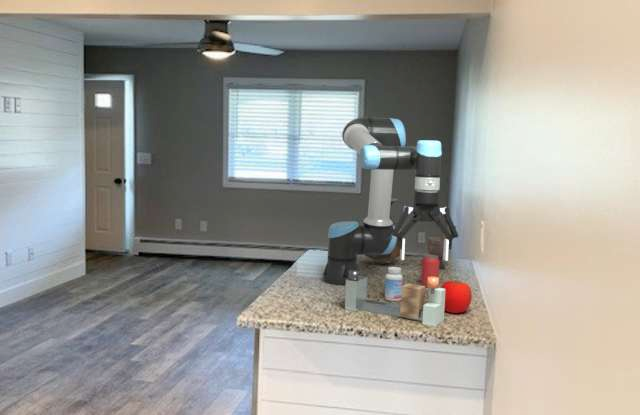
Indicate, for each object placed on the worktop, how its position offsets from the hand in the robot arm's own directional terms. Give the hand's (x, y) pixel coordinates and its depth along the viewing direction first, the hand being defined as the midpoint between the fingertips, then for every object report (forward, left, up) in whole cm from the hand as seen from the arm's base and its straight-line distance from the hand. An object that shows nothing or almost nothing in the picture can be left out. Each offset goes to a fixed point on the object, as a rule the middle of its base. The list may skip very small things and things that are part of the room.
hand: (423, 259), depth 186 cm
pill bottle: (-17, +19, -20) cm, 33 cm away
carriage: (-3, +1, -20) cm, 20 cm away
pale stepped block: (+4, +1, -20) cm, 20 cm away
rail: (-12, +1, -20) cm, 23 cm away
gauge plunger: (+4, -1, -10) cm, 11 cm away
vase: (-45, +73, -20) cm, 89 cm away
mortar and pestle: (-21, +83, -20) cm, 88 cm away
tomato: (+6, +16, -20) cm, 26 cm away
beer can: (-13, +46, -20) cm, 52 cm away
